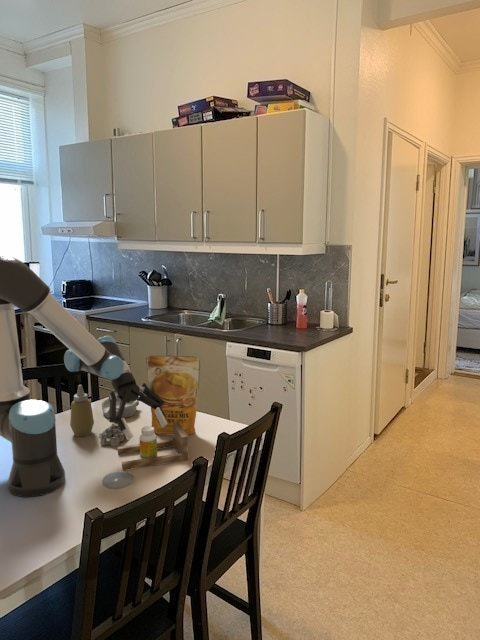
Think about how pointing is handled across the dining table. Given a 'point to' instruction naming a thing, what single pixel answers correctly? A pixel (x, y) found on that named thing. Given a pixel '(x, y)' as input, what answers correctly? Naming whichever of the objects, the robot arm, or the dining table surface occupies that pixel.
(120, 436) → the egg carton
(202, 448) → the dining table surface
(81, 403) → the squeeze bottle
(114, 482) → the coaster
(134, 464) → the lane rack
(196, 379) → the pancake mix bag
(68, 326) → the robot arm
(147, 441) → the supplement bottle
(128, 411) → the dish
